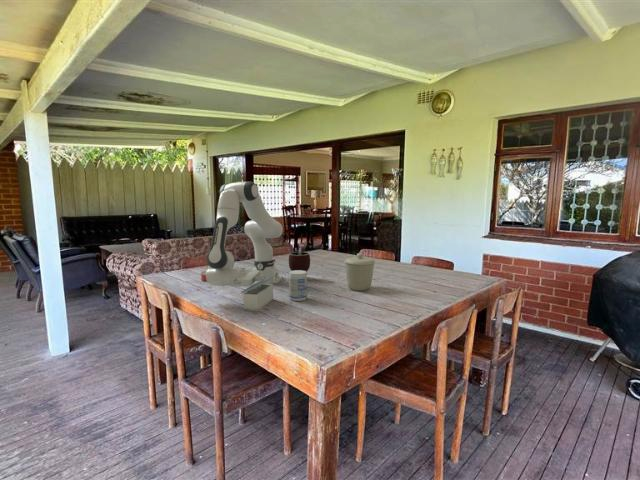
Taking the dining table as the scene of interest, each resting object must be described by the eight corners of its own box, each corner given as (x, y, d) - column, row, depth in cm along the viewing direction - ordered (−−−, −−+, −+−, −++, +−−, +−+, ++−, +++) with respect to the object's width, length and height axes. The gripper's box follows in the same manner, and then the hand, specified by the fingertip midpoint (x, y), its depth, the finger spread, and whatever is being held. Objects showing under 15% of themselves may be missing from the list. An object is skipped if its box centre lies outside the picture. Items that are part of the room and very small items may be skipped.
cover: (259, 283, 192) (258, 281, 192) (272, 278, 190) (271, 276, 190) (241, 293, 173) (240, 292, 173) (256, 287, 171) (255, 286, 171)
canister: (373, 293, 201) (374, 256, 199) (341, 291, 205) (342, 255, 202) (375, 285, 219) (376, 251, 216) (345, 283, 223) (346, 250, 220)
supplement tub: (300, 302, 185) (300, 274, 183) (285, 300, 190) (285, 272, 188) (310, 297, 194) (310, 271, 192) (295, 295, 198) (295, 269, 196)
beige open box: (261, 298, 193) (260, 283, 192) (273, 299, 191) (273, 284, 190) (243, 310, 174) (243, 294, 173) (257, 311, 172) (256, 295, 171)
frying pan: (220, 270, 260) (219, 261, 259) (237, 271, 258) (236, 262, 257) (197, 281, 229) (196, 271, 228) (216, 282, 227) (216, 272, 226)
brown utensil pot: (309, 282, 226) (309, 250, 224) (287, 282, 227) (287, 250, 224) (310, 276, 242) (310, 246, 239) (290, 276, 242) (289, 246, 239)
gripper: (231, 276, 171) (259, 276, 170) (243, 267, 192) (269, 267, 190) (231, 289, 172) (259, 289, 171) (244, 278, 192) (269, 279, 191)
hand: (265, 278), depth 181 cm, fingers closed
